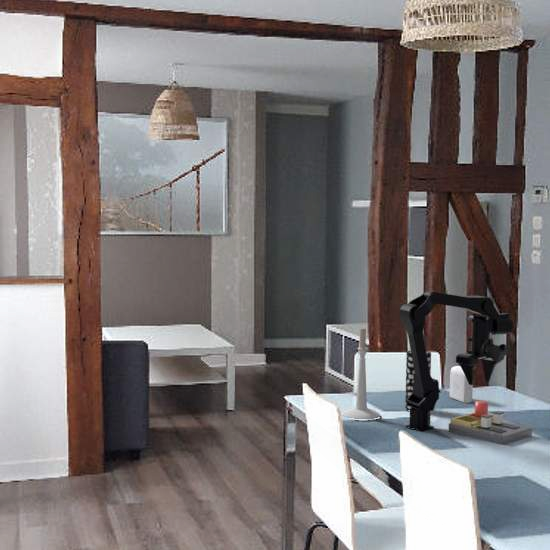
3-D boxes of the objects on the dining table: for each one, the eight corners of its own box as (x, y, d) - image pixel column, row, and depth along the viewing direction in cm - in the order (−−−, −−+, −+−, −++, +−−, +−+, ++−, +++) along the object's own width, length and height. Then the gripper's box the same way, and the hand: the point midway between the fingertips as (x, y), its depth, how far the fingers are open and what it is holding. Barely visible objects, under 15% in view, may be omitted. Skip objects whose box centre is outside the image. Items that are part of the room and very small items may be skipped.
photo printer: (474, 402, 300) (475, 368, 300) (464, 403, 299) (465, 369, 298) (457, 396, 310) (458, 363, 309) (447, 397, 308) (448, 364, 308)
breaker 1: (486, 427, 253) (486, 416, 252) (480, 426, 254) (481, 415, 254) (491, 426, 254) (491, 415, 254) (485, 425, 256) (485, 414, 256)
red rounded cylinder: (482, 421, 261) (483, 404, 260) (471, 419, 264) (472, 402, 263) (490, 420, 263) (490, 402, 263) (479, 417, 266) (480, 400, 266)
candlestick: (335, 413, 281) (337, 325, 279) (369, 410, 286) (371, 323, 284) (352, 422, 269) (353, 330, 267) (387, 419, 274) (389, 328, 272)
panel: (503, 444, 245) (503, 431, 244) (448, 431, 259) (448, 418, 259) (531, 435, 255) (532, 422, 255) (477, 423, 270) (478, 411, 269)
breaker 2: (498, 424, 258) (499, 413, 257) (493, 422, 259) (493, 411, 259) (503, 422, 259) (503, 411, 259) (497, 421, 261) (497, 410, 260)
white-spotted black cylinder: (431, 413, 284) (432, 354, 282) (406, 412, 284) (408, 354, 282) (427, 407, 292) (428, 350, 290) (403, 407, 292) (404, 350, 291)
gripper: (485, 340, 256) (483, 391, 257) (518, 335, 269) (517, 383, 270) (455, 336, 265) (453, 385, 266) (489, 331, 277) (487, 378, 278)
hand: (479, 383), depth 270 cm, fingers open, 9 cm apart
